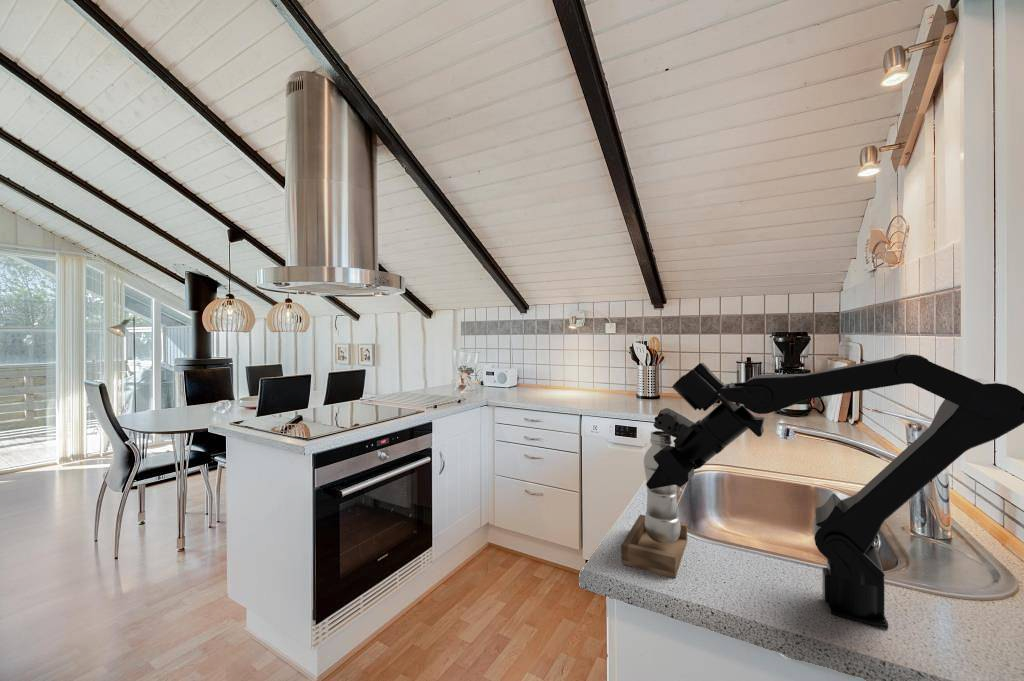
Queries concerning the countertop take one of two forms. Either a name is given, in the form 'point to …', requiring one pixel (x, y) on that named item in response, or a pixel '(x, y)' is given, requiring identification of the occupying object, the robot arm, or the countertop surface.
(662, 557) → the bottle stand
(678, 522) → the silver metal bottle
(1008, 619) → the countertop surface
